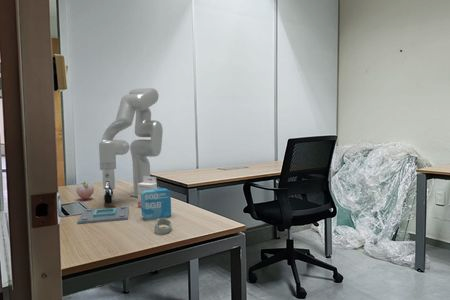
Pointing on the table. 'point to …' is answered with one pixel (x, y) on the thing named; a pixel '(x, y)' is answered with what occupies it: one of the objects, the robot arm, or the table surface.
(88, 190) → the decorative fruit
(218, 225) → the table surface
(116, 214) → the baseplate
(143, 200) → the data package
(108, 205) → the smooth beige block
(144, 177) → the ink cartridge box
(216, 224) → the table surface
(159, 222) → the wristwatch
